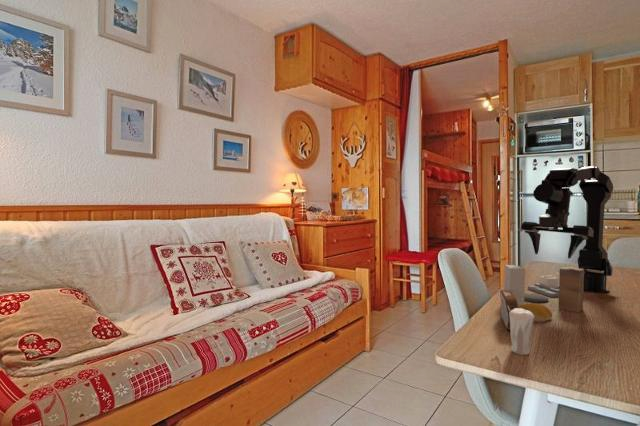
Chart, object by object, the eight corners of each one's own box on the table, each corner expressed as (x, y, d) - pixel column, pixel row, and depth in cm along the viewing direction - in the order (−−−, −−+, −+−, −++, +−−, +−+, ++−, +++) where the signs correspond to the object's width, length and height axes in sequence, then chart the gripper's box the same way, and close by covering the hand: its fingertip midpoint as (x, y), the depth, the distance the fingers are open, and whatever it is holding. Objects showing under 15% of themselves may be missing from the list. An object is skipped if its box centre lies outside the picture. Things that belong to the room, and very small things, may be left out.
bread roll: (556, 318, 101) (557, 304, 101) (540, 324, 96) (540, 309, 96) (526, 311, 108) (526, 297, 107) (509, 316, 103) (509, 302, 103)
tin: (520, 336, 87) (521, 301, 87) (505, 334, 88) (506, 299, 88) (510, 317, 101) (511, 286, 101) (498, 315, 102) (499, 285, 102)
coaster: (534, 295, 125) (534, 293, 125) (555, 302, 116) (555, 300, 116) (510, 295, 124) (510, 294, 124) (529, 303, 115) (529, 301, 115)
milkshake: (500, 348, 80) (501, 302, 79) (523, 347, 80) (524, 302, 80) (512, 357, 75) (514, 309, 75) (537, 356, 76) (539, 308, 75)
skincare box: (524, 308, 109) (525, 268, 109) (509, 307, 110) (510, 268, 110) (517, 303, 115) (519, 265, 115) (503, 302, 116) (504, 264, 115)
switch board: (557, 288, 135) (557, 282, 135) (582, 296, 124) (582, 290, 124) (527, 289, 133) (527, 283, 133) (550, 297, 123) (550, 291, 123)
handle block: (562, 305, 113) (564, 266, 113) (582, 308, 110) (584, 269, 109) (558, 308, 110) (559, 268, 109) (578, 312, 106) (580, 271, 106)
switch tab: (549, 285, 134) (549, 274, 134) (557, 288, 130) (558, 276, 130) (539, 285, 133) (539, 274, 133) (547, 288, 129) (548, 277, 129)
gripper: (516, 201, 119) (510, 249, 118) (585, 204, 104) (579, 258, 103) (530, 207, 126) (524, 252, 125) (596, 210, 111) (590, 261, 110)
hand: (552, 256), depth 115 cm, fingers open, 9 cm apart
